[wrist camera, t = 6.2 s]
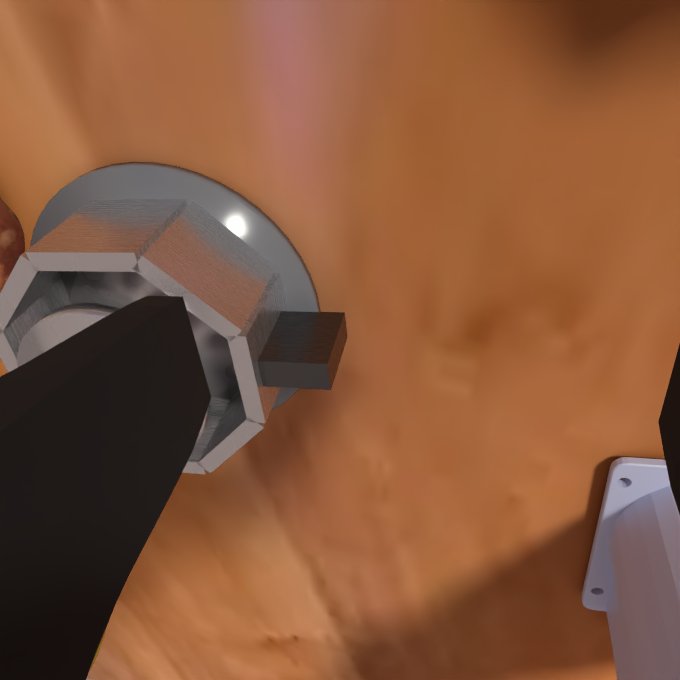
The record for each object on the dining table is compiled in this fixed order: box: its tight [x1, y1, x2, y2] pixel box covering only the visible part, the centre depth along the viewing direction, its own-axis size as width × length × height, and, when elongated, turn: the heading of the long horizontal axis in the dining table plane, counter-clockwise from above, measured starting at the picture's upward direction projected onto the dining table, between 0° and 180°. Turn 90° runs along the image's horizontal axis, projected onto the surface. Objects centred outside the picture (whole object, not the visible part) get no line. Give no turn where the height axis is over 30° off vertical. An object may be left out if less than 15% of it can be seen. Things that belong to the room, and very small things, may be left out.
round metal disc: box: [30, 162, 320, 410], centre depth 23 cm, size 11×11×1 cm
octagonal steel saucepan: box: [0, 198, 347, 474], centre depth 21 cm, size 9×11×4 cm
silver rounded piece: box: [17, 271, 237, 445], centre depth 20 cm, size 7×7×6 cm
